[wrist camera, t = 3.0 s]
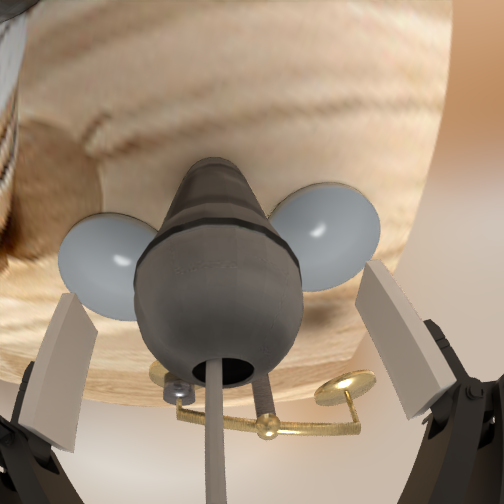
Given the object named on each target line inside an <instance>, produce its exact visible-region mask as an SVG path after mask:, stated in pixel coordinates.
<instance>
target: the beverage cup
mask: <svg viewBox="0 0 504 504" xmlns="http://www.w3.org/2000/svg"><path fill="white" fill-rule="evenodd" d="M133 287H134V292H135V294H134V311H135V315H136V319H137V322H138V326H139V329H140V332H141V335H142V338H143V340H144V342H145V344H146V346H147V348H148V349H149V350H150V352H151V353H152V354H153V355H154V357H155V358H156V359H157V360H158V361H159V362H160V363H161V364H162V365H163V367H164V368H165V369H167V370H168V371H169V372H171V373H172V374H174V375H175V376H177V377H179V378H181V379H182V380H184V381H186V382H189V383H191V384H194V385H198V386H201V387H206V392H205V481H206V483H205V484H206V504H227V501H226V500H227V499H226V481H225V459H224V433H223V395H222V389H224V388H234V387H239V386H243V385H246V384H249V383H251V382H254V381H256V380H257V379H259V378H261V377H262V376H264V375H266V374H267V373H269V372H270V371H272V370H273V369H274V368H275V367H276V366H277V365H278V364H279V363H280V362H281V360H282V359H283V358H284V357H285V356H286V355H287V353H288V352H289V350H290V349H291V347H292V346H293V344H294V341H295V338H296V336H297V333H298V330H299V327H300V324H301V320H302V315H303V309H304V305H303V293H302V278H301V271H300V265H299V260H298V259H297V257H296V255H295V254H294V252H293V251H292V249H291V248H290V246H289V245H288V243H287V242H286V241H285V240H283V239H282V238H281V237H280V235H279V234H278V232H277V231H276V230H275V229H274V227H273V226H272V225H271V224H270V223H269V222H268V220H267V218H266V216H265V214H264V212H263V210H262V209H261V207H260V205H259V203H258V201H257V199H256V197H255V196H254V194H253V192H252V190H251V188H250V186H249V185H248V183H247V181H246V179H245V178H244V176H243V175H242V173H241V172H240V171H239V169H238V168H237V166H235V165H234V164H233V163H231V162H230V161H228V160H225V159H222V158H207V159H203V160H201V161H199V162H198V163H196V164H195V165H193V166H192V168H191V169H190V170H189V171H188V173H187V175H186V176H185V178H184V179H183V181H182V183H181V185H180V187H179V189H178V191H177V193H176V195H175V198H174V200H173V202H172V204H171V206H170V208H169V211H168V213H167V215H166V217H165V219H164V222H163V224H162V226H161V229H160V230H159V231H158V233H157V234H156V236H155V237H154V239H153V240H152V241H151V242H150V243H149V244H148V246H147V247H146V249H145V250H144V252H143V253H142V255H141V256H140V258H139V259H138V261H137V263H136V269H135V274H134V280H133Z"/></svg>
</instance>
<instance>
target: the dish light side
mask: <svg viewBox="0 0 504 504" xmlns="http://www.w3.org/2000/svg"><path fill="white" fill-rule="evenodd" d="M268 222H269V223H270V224H271V225H272V226H273V227H274V229H275V230H276V231H277V232H278V234H279V235H280V237H281V238H282V239H283V240H285V241H286V242H287V243H288V245H289V246H290V248H291V249H292V251H293V252H294V254H295V255H296V257H297V259H298V260H299V265H300V271H301V278H302V291H303V292H316V291H322V290H327V289H330V288H333V287H336V286H338V285H340V284H342V283H344V282H346V281H348V280H349V279H351V278H352V277H354V276H355V275H356V274H357V273H359V272H360V271H361V270H362V269H363V268H364V267H365V264H366V261H369V260H370V259H371V257H372V256H373V254H374V252H375V250H376V248H377V245H378V242H379V238H380V220H379V217H378V214H377V212H376V210H375V208H374V207H373V205H372V204H371V203H370V202H369V201H368V200H367V199H366V198H365V197H364V196H363V195H362V194H361V193H360V192H359V191H357V190H356V189H354V188H352V187H350V186H347V185H344V184H340V183H328V182H327V183H318V184H314V185H310V186H307V187H305V188H302V189H300V190H298V191H296V192H294V193H293V194H291V195H290V196H289V197H287V198H286V199H285V200H284V201H282V202H281V203H280V204H279V205H278V206H277V208H276V209H275V210H274V211H273V213H272V214H271V216H270V217H269V219H268Z"/></svg>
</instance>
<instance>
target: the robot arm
mask: <svg viewBox="0 0 504 504" xmlns="http://www.w3.org/2000/svg"><path fill="white" fill-rule="evenodd" d="M38 1H39V0H0V22H3V21H6V20H8V19H11V18H13V17H15V16H16V15H18V14H20V13H22V12H23V11H25V10H26V9H28V8H29V7H31V6H32V5H34V4H35V3H36V2H38ZM355 306H356V308H357V310H358V312H359V314H360V316H361V318H362V320H363V322H364V324H365V326H366V328H367V330H368V332H369V334H370V336H371V338H372V340H373V342H374V344H375V346H376V348H377V350H378V352H379V355H380V357H381V359H382V361H383V363H384V365H385V368H386V370H387V372H388V374H389V377H390V379H391V381H392V383H393V386H394V388H395V390H396V393H397V395H398V397H399V400H400V401H401V404H402V407H403V409H404V412H405V414H406V416H407V419H408V420H410V419H413V418H415V417H417V416H420V415H422V414H424V413H425V412H426V411H427V410H428V409H429V408H430V409H431V411H432V413H431V414H429V415H428V416H427V417H426V418H425V419H424V420H423V422H422V424H425V423H426V422H427V421H428V424H427V427H426V431H425V434H424V437H423V440H422V443H421V446H420V449H419V452H418V455H417V458H416V461H415V463H414V466H413V468H412V471H411V473H410V476H409V478H408V481H407V483H406V485H405V488H404V490H403V492H402V494H401V496H400V499H399V501H398V503H397V504H504V374H503V375H502V376H501V377H500V378H499V379H498V380H497V381H490V382H481V381H480V380H478V379H476V378H471V377H469V376H468V374H467V373H466V371H465V369H464V368H463V366H462V364H461V362H460V360H459V359H458V357H457V355H456V353H455V352H454V350H453V349H452V347H451V346H450V343H449V342H448V340H447V339H445V335H444V334H443V332H442V331H441V329H440V327H439V326H438V325H436V324H435V323H434V322H433V321H432V320H431V319H429V320H425V321H422V319H421V318H420V316H419V315H418V313H417V311H416V310H415V308H414V307H413V305H412V304H411V302H410V301H409V299H408V298H407V296H406V295H405V293H404V292H403V290H402V289H401V287H400V286H399V284H398V283H397V282H396V280H395V279H394V277H393V276H392V274H391V273H390V272H389V270H388V269H387V267H386V266H385V265H384V263H383V262H382V260H381V259H377V260H370V261H366V264H365V268H364V272H363V276H362V280H361V284H360V287H359V291H358V295H357V298H356V302H355ZM97 333H98V331H97V330H96V328H95V326H94V325H93V323H92V321H91V320H90V318H89V316H88V315H87V313H86V311H85V310H84V308H83V306H82V304H81V302H80V301H79V299H78V297H77V295H76V293H64V294H62V296H61V298H60V300H59V303H58V305H57V307H56V309H55V312H54V314H53V316H52V319H51V321H50V324H49V326H48V328H47V331H46V333H45V336H44V339H43V341H42V344H41V347H40V349H39V352H38V355H37V358H36V361H35V362H33V361H31V362H30V364H29V365H28V367H27V368H26V370H25V372H24V375H23V378H22V383H21V385H20V388H19V390H20V391H19V392H18V395H17V398H16V402H15V406H14V410H13V414H12V418H11V421H10V422H9V421H7V420H6V419H4V418H3V417H2V416H1V415H0V466H1V467H3V468H4V472H3V473H2V472H0V504H84V503H83V501H82V500H81V498H80V497H79V495H78V493H77V492H76V490H75V489H74V487H73V485H72V484H71V482H70V480H69V479H68V477H67V475H66V473H65V472H64V470H63V468H62V466H61V464H60V463H59V461H58V459H57V457H56V455H55V453H54V452H53V451H52V450H51V446H54V447H56V448H58V449H60V450H63V451H67V452H71V453H74V446H75V438H76V431H77V424H78V418H79V411H80V406H81V401H82V396H83V391H84V386H85V381H86V377H87V372H88V368H89V364H90V360H91V356H92V352H93V348H94V344H95V340H96V337H97ZM493 417H494V418H495V423H494V422H493Z"/></svg>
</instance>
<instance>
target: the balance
mask: <svg viewBox="0 0 504 504" xmlns="http://www.w3.org/2000/svg"><path fill="white" fill-rule="evenodd" d="M149 377H150V379H151V380H152V381H153V382H154V383H155V384H157V385H159V386H161V387H163V388H164V392H163V399H164V401H166V402H167V403H170V404H173V405H176V410H177V411H176V413H177V420H181V421H186V422H190V423H195V424H201V425H205V413H204V412H198V411H193V410H188V409H183V408H182V405H190V404H192V403H194V402H195V390H197V389H200V388H202V387H201V386H198V385H194V384H191V383H189V382H186V381H184V380H182V379H181V378H179V377H177V376H175V375H174V374H172V373H171V372H169V371H168V370H167V369H165V368H164V367H163V365H162V364H161V363H160V362H159V361H158V360H157V361H155V362H153V363H152V364H151V366H150V369H149ZM375 383H376V378H375V375H374V373H373V372H372V371H370V370H358V371H354V372H350V373H346V374H343V375H341V376H338V377H336V378H334V379H332V380H330V381H328V382H327V383H325V384H323V385H322V386H321V387H320V388H318V389H317V391H316V392H315V394H314V397H315V401H316V403H317V404H318V405H321V406H333V405H338V404H342V403H345V402H347V403H348V406H349V409H350V412H351V415H352V418H353V422H350V423H296V422H280V420H279V419H278V417H277V416H276V413H275V408H274V402H273V397H272V392H271V387H270V382H269V376H268V373H267V374H266V375H264V376H262V377H261V378H259V379H257V380H256V381H254V382H251V384H252V390H253V397H254V403H255V410H256V416H257V420H254V419H245V418H237V417H229V416H223V428H224V429H231V430H239V431H247V432H256V433H257V434H258V436H259V437H260V438H262V439H264V440H272V439H274V438H275V437H277V435H278V434H281V435H303V436H335V435H336V436H338V435H358V434H359V433H360V431H361V424H360V422H359V419H358V416H357V413H356V410H355V407H354V404H353V401H352V400H353V399H355V398H357V397H359V396H361V395H362V394H364V393H366V392H367V391H368V390H370V389H371V388H372V387H373V386H374V384H375Z"/></svg>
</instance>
